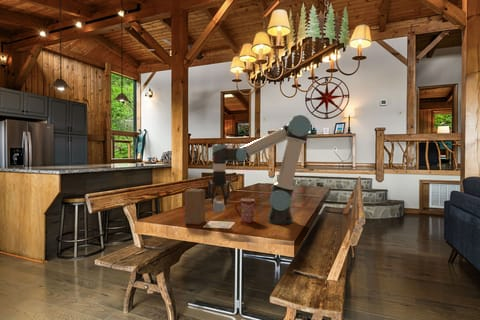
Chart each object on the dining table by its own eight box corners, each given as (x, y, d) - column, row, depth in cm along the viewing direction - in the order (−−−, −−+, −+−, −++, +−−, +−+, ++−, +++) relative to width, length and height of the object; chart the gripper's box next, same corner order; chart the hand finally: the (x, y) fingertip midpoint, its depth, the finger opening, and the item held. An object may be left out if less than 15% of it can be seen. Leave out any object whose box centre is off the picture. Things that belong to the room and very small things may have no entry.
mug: (256, 220, 176) (256, 198, 175) (252, 223, 167) (252, 201, 167) (237, 218, 180) (237, 197, 179) (232, 221, 171) (232, 200, 171)
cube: (224, 209, 166) (224, 201, 166) (222, 211, 161) (222, 203, 161) (216, 209, 167) (216, 201, 167) (213, 211, 162) (213, 202, 162)
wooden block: (200, 225, 164) (199, 191, 163) (184, 224, 166) (183, 190, 165) (205, 220, 173) (205, 189, 173) (190, 220, 175) (190, 188, 175)
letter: (235, 222, 170) (235, 221, 170) (229, 228, 156) (229, 228, 156) (210, 221, 173) (210, 220, 173) (202, 227, 159) (202, 226, 159)
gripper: (235, 170, 165) (235, 209, 166) (206, 169, 169) (206, 207, 170) (232, 171, 158) (232, 212, 159) (202, 170, 161) (202, 210, 162)
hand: (219, 209), depth 164 cm, fingers closed on cube, 5 cm apart
